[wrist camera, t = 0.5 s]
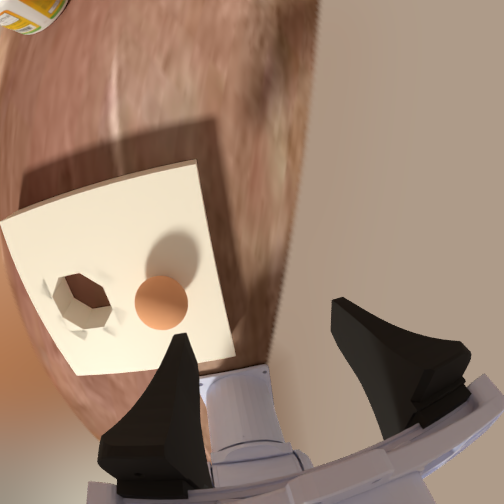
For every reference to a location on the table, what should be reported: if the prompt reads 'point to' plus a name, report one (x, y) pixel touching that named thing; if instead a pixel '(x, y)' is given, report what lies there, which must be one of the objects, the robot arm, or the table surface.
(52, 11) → the supplement bottle
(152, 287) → the ball
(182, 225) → the hole board
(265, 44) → the table surface
